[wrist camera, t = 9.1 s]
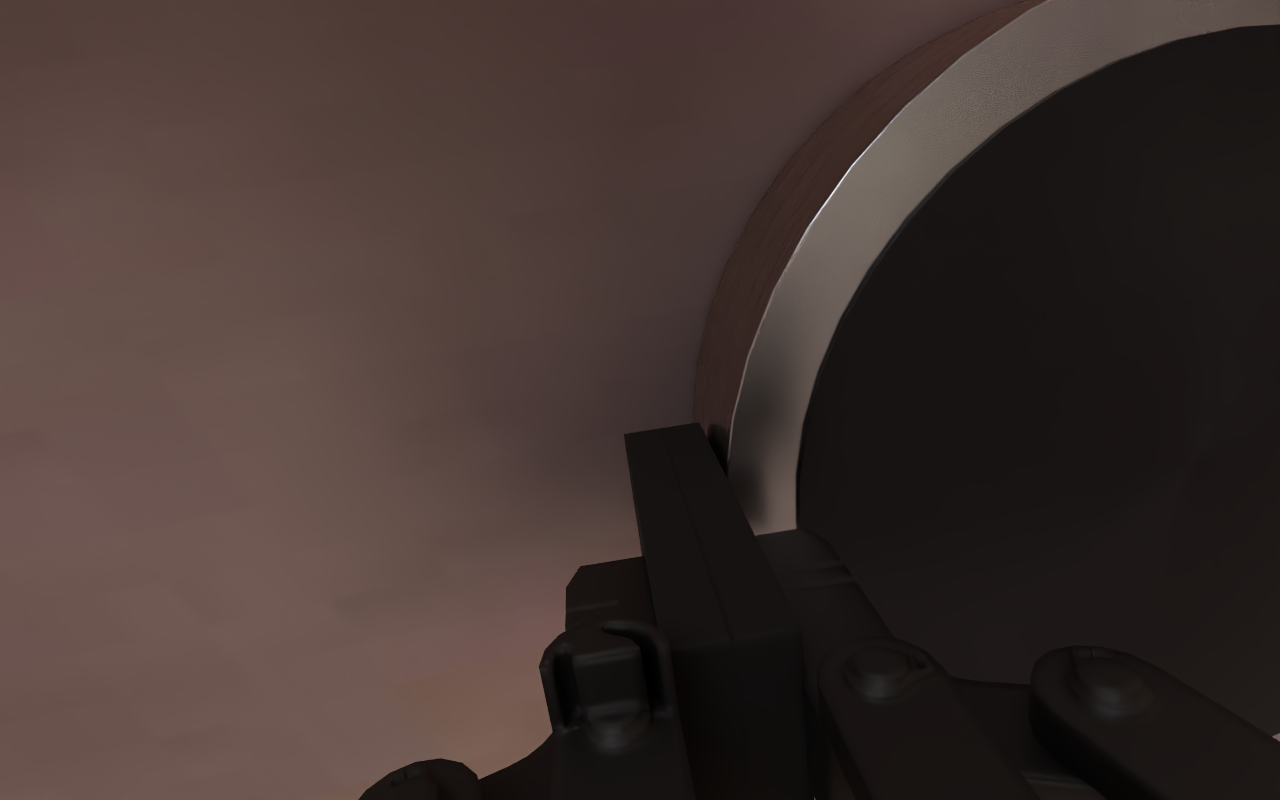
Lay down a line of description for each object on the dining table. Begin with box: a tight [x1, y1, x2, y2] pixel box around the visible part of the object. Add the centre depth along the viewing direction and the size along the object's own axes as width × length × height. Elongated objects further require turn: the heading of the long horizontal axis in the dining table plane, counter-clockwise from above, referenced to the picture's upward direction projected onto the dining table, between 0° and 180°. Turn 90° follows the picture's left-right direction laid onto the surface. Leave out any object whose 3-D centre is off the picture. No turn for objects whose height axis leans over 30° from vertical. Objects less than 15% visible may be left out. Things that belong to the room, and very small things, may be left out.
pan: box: [693, 0, 1280, 741], centre depth 15 cm, size 24×16×4 cm, turn 7°
